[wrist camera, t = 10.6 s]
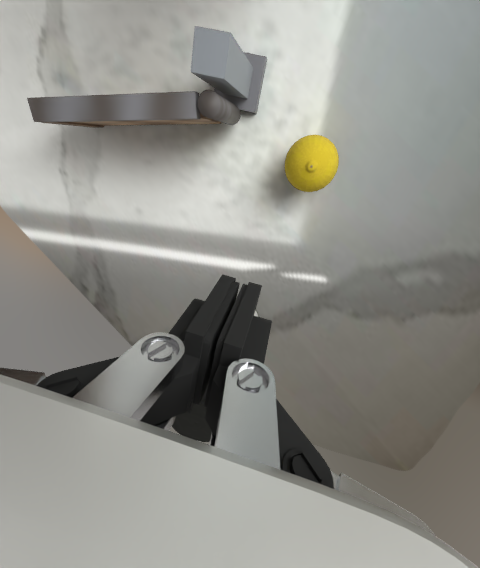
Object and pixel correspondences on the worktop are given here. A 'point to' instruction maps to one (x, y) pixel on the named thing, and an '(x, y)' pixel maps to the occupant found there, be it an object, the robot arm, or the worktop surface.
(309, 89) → the worktop surface
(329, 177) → the lemon
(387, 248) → the worktop surface
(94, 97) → the gate
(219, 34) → the gate post
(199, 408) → the spray can
